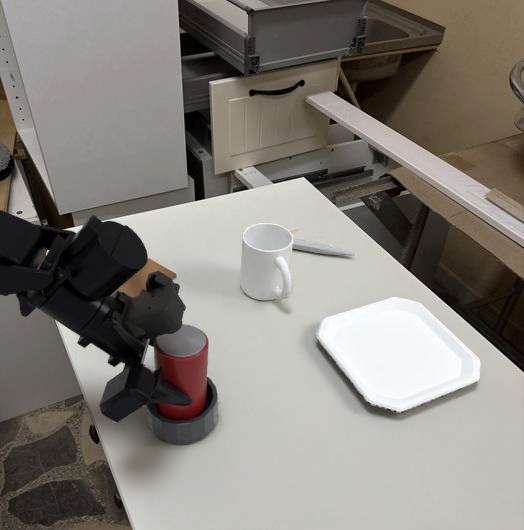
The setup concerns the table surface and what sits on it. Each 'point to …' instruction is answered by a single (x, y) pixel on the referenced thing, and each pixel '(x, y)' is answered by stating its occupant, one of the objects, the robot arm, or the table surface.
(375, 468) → the table surface
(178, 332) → the can
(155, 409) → the bowl
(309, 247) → the tool
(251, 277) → the mug
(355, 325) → the plate
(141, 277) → the coaster
